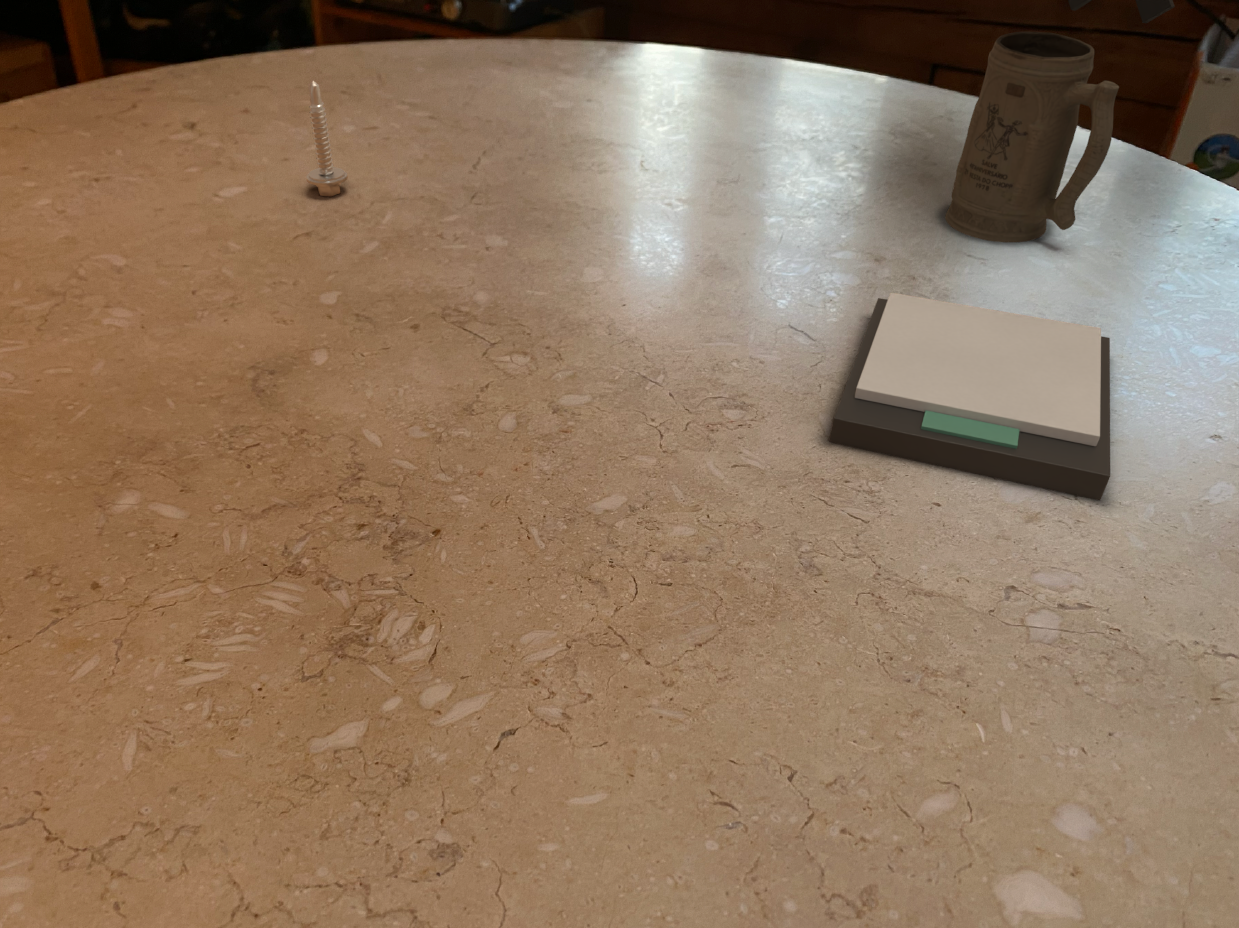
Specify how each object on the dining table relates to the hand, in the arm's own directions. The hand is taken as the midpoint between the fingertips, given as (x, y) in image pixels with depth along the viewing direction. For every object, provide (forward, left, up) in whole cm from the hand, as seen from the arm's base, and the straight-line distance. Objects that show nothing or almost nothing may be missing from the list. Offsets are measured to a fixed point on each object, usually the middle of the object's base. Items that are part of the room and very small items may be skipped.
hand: (1124, 9), depth 96 cm
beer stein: (+4, -4, -24) cm, 25 cm away
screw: (+81, +14, -24) cm, 86 cm away
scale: (+5, +34, -24) cm, 42 cm away
